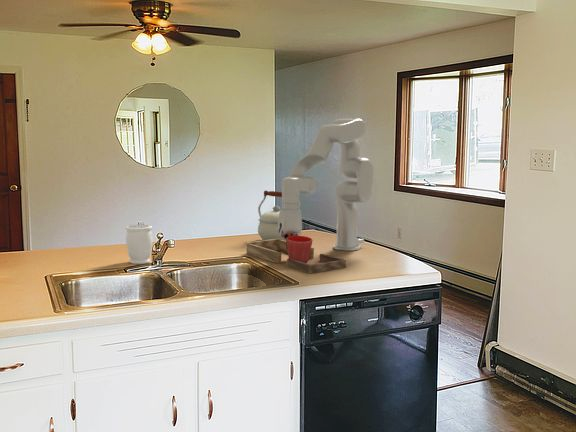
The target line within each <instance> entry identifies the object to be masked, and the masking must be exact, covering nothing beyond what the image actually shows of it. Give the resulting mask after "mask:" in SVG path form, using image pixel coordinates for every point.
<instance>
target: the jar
mask: <svg viewBox="0 0 576 432" xmlns="http://www.w3.org/2000/svg"><path fill="white" fill-rule="evenodd" d="M152 229H153V226H152V225H149V224H131V225H127V226H125V230H126V235H125V236H126V237H125V245H126V251H127V254H128V257H129V258H130V259H129V260H128V262H129V263H130V264H133V265H144V264H145V265H146V264H149V263H150V262H151V259H150V257H151V255H152V251H153V250H152V249H153V242H154V241H153V233H152Z"/></svg>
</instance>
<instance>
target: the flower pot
mask: <svg viewBox="0 0 576 432" xmlns="http://www.w3.org/2000/svg"><path fill="white" fill-rule="evenodd" d="M286 241H287V250H288V252H287V255H288V259H293V260H296V261H300V262H303V263H306V264H307V262H308V261H309V258H308V257H309V253H310V250H311V248H312V245H313V242H314V241H313V239H312V238H311V237H309V236H306V235H298V236H289V237H287V238H286Z"/></svg>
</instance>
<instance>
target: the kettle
mask: <svg viewBox="0 0 576 432" xmlns="http://www.w3.org/2000/svg"><path fill="white" fill-rule="evenodd" d="M267 196H269V197H278V198H282V191H275V190H270V191H268V190H264V191H263V198H262V199H263V200H262V201H261V202H260V203H259V204H258V207H257V209H258V210H257V211H258V216H259V219H258V221H259V223H258V226H257V233H258V234H257V235H259V237H260V238H261V241H263V240H271V239H282V240H284V241H286V240H285V238H284V237H281V236H279V234H280V233H279V232H278V218H279V213H280V210H282V207H280V206H278V205H274V206H273V207H272V210H269V211H266V212H264V213H261V207H262V204H263V203H264V202H265V200H266V199H267Z"/></svg>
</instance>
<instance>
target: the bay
mask: <svg viewBox="0 0 576 432" xmlns="http://www.w3.org/2000/svg"><path fill="white" fill-rule="evenodd" d="M319 262H320V263H314V264H309V263H307V262H306V263H303V262H300V261H296V260H293V259H289V258H286V266H287V267H289V268H292V269H295V270H297V271H301V272H304V273H308V274H315V273H321V272H326V271H332V270H338V269H339V270H340V269H344V268H347V259H344V258H339V257H336V256H332V255H328V254H325V253H320V254H319Z"/></svg>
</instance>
